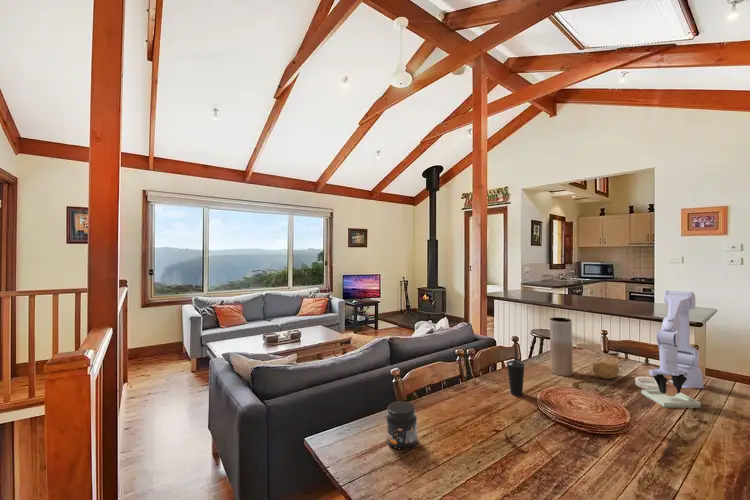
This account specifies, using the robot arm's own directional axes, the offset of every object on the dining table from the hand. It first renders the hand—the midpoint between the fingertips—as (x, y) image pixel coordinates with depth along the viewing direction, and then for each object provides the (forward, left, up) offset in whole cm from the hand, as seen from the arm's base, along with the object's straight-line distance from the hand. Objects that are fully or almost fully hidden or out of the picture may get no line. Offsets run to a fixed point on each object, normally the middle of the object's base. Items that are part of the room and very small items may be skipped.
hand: (669, 392), depth 138 cm
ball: (0, 0, -1) cm, 1 cm away
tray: (0, 0, -3) cm, 3 cm away
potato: (+10, -25, -4) cm, 27 cm away
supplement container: (+112, +31, -4) cm, 116 cm away
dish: (-3, -14, -3) cm, 15 cm away
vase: (+28, -32, -4) cm, 43 cm away
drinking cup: (+60, -7, -4) cm, 61 cm away
